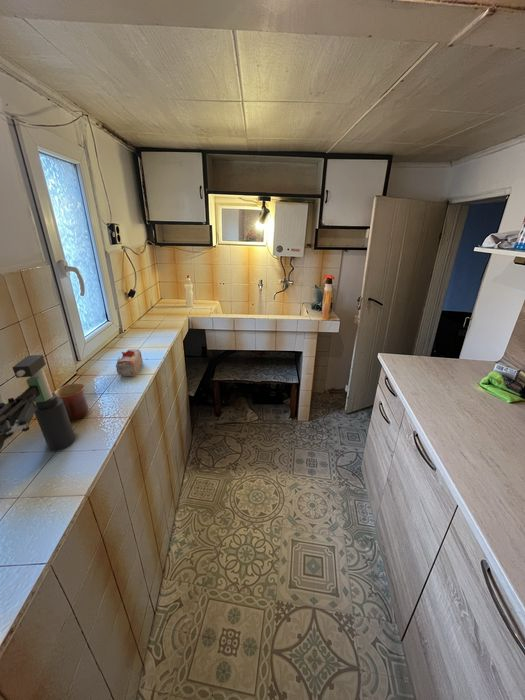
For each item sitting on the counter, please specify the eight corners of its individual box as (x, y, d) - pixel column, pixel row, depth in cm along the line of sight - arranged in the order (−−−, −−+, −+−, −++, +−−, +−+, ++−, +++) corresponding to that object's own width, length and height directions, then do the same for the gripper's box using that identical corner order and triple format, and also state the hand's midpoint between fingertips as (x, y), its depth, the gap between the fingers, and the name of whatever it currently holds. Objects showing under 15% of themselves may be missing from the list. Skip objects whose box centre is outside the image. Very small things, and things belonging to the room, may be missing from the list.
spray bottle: (66, 455, 81) (33, 367, 70) (38, 458, 80) (1, 370, 68) (79, 433, 90) (52, 351, 78) (54, 435, 89) (23, 354, 77)
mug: (94, 415, 98) (87, 390, 94) (65, 426, 93) (55, 400, 89) (86, 401, 106) (79, 377, 102) (59, 410, 101) (50, 385, 97)
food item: (136, 378, 122) (132, 357, 118) (117, 379, 121) (112, 358, 117) (144, 364, 135) (141, 345, 131) (127, 364, 134) (123, 345, 130)
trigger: (45, 401, 77) (37, 379, 74) (34, 402, 77) (26, 380, 74) (47, 399, 78) (39, 377, 75) (37, 400, 78) (28, 378, 75)
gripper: (-64, 473, 54) (12, 404, 75) (13, 463, 56) (66, 399, 78) (-83, 442, 51) (2, 380, 73) (-1, 433, 53) (58, 375, 75)
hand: (35, 390), depth 75 cm, fingers closed
